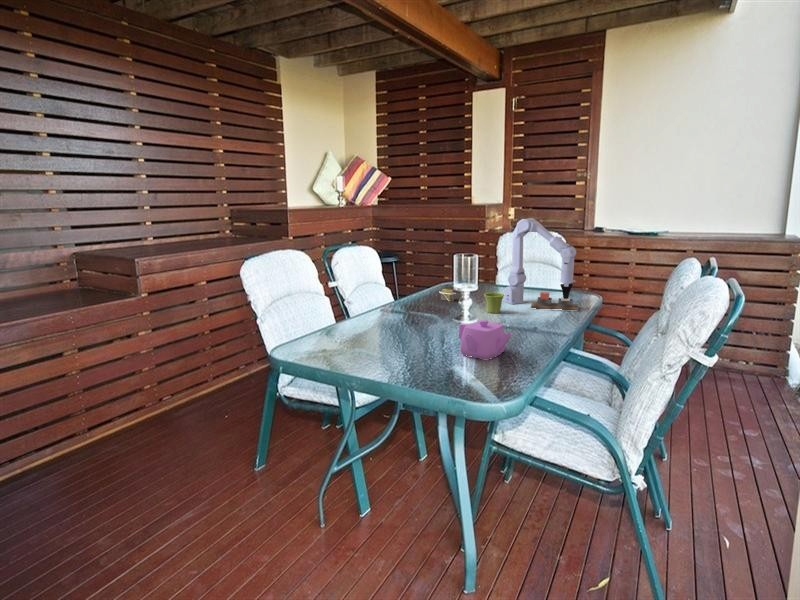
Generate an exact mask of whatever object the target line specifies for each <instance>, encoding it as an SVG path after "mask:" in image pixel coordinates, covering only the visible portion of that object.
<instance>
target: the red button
mask: <svg viewBox="0 0 800 600" xmlns="http://www.w3.org/2000/svg"><path fill="white" fill-rule="evenodd" d="M539 297H540V299H545V300H549V298H550V292H549V291H540V292H539Z"/></svg>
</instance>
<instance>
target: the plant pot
mask: <svg viewBox="0 0 800 600" xmlns="http://www.w3.org/2000/svg"><path fill="white" fill-rule="evenodd" d="M504 296H505V293H500V292H487V293H486V292H485V293H484V298H485V301H486V312H487V313H490V314H500V312H501V308H502V303H503V299H504Z"/></svg>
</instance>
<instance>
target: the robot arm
mask: <svg viewBox="0 0 800 600" xmlns="http://www.w3.org/2000/svg"><path fill="white" fill-rule="evenodd" d="M531 232H532V233H537V234H538V235H540V236H541V237H542V238H544V239H546V241H548V242H549V246H550V247H551V248H553V249H554V250H555V251H556V252H557V253H558V254H559V256H560V258H561V268H560V270H561V272H560V281H559V282H560V287H561V291H562V298H564V299H568V298H570V294H571V293H570V292H571V290H572V288H573V285H574V284H573V283H576V280H575V279H574V272H575V271H574V269H575V268H574V267H575V257H576V255H577V249H576V248H575V247H574V246H572V245H570V244H569V243H567V242H565V240H563V238H562V237H561V236H558V235H557V236H556V235H553V234H552V233H551V232H550V231H549V230H548V229H546V228H545V227H544V225H542V224H541V223H540V222H539V221H538V220H536V219H535V218H533V217H530V218H522V219H520V220H519V221H518V222H517V223H516V226H515V228H514V230H513V232H512V247H511V248H512V254H511V255H512V258H511V259H512V260H511V263H512V264H511V265H512V266H511V267H512V268H511V269H510V270H509V276H508V277H507V282H508V284H509V285H508V286H506V287H505V289H504V296H503V299H504V300H503V302H504V303H507V304H511V305H517V304H525V302H526V303H527V301H526V300H524V288H525V284H524V283H526V280H527V275H526V273H525V268H524V262H523V261H524V237H525V236H526V235H527V234H529V233H531Z"/></svg>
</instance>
